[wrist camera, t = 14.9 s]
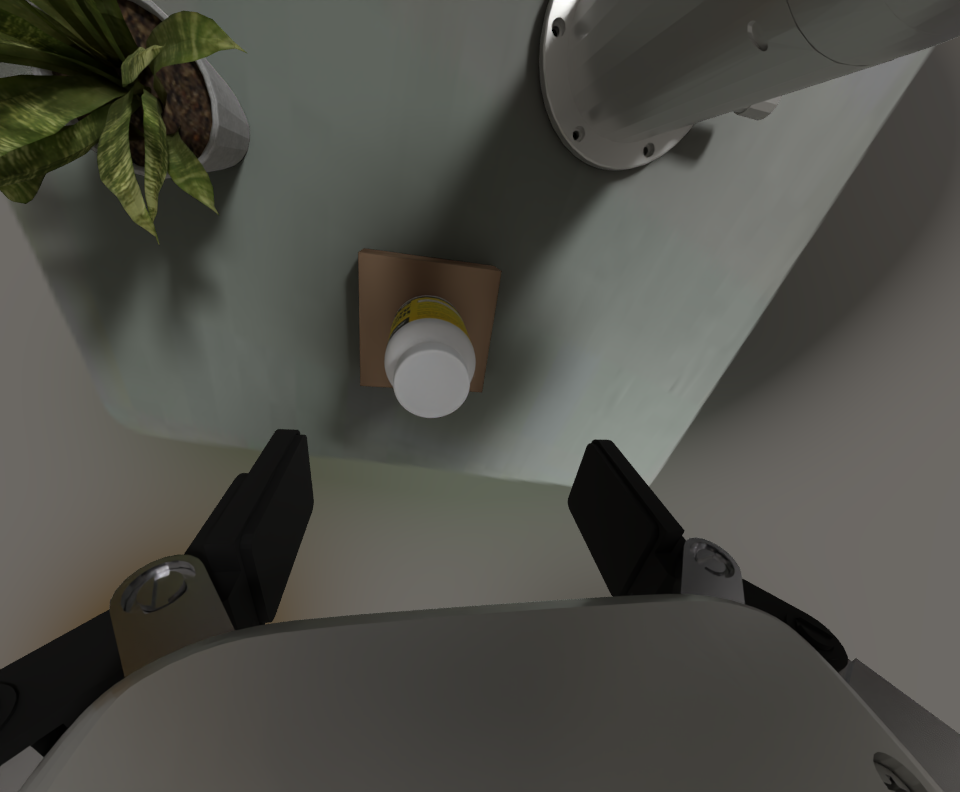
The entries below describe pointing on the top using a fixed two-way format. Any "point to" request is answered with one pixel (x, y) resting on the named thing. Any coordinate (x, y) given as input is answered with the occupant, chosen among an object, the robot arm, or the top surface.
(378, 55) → the top surface
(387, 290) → the walnut riser
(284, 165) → the top surface
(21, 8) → the house plant
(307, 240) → the top surface
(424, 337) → the supplement bottle
